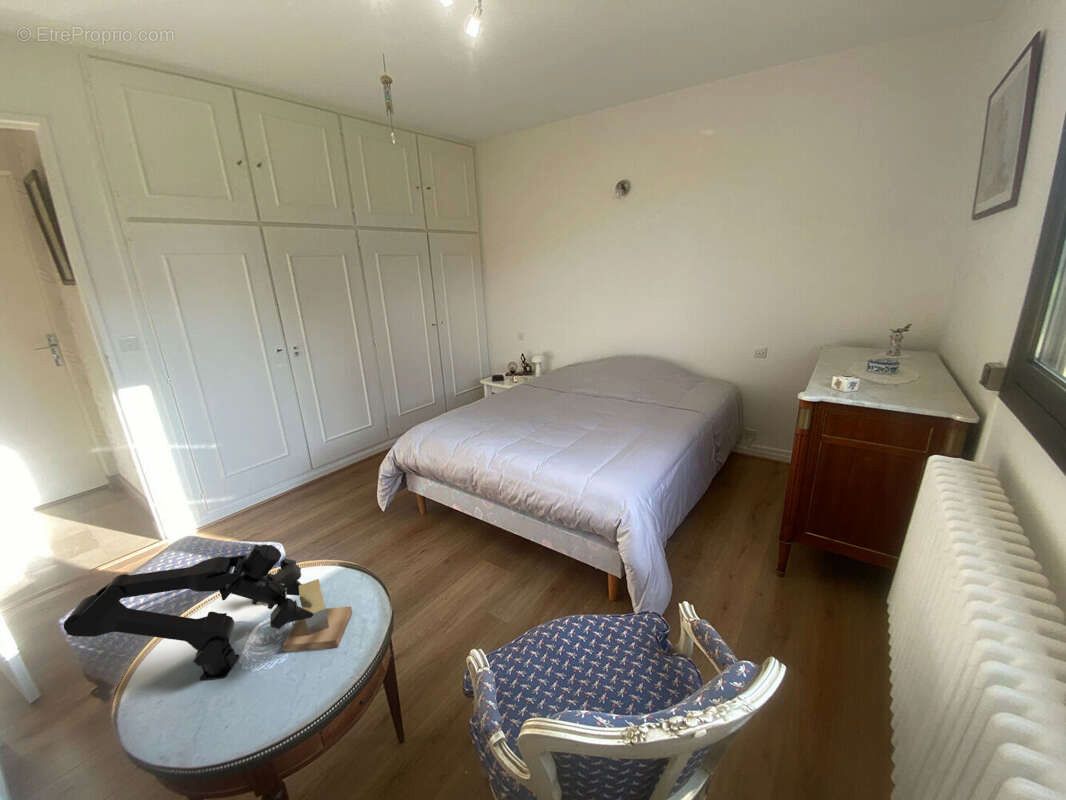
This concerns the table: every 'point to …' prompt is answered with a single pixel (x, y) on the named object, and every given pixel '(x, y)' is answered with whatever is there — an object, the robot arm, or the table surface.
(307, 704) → the table surface
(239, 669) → the table surface
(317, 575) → the table surface
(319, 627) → the yellow grey tall block
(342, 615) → the walnut plinth
